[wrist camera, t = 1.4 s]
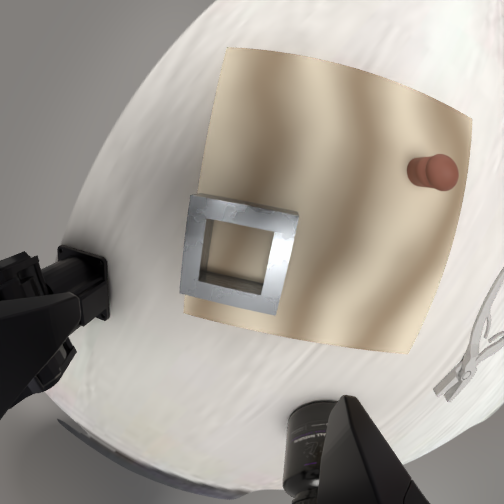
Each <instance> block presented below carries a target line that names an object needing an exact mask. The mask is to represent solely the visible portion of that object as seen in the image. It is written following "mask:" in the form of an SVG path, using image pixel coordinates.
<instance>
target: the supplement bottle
mask: <svg viewBox="0 0 504 504" xmlns="http://www.w3.org/2000/svg"><path fill="white" fill-rule="evenodd" d="M336 404H337V403H332V402H318V403H313V404H309V405H306V406H304V407H301V408H300V409H298V410H297V411H295V412H294V413H293V414H292V415H291V417H290V419H289V421H288V427H287V439H286V451H285V462H284V473H283V488H284V490H285V491H286V493H287V494H288V495H290V496H291V497H293V498H295V499H293V500H292V504H317V496H318V487H319V477H320V466H321V458H322V452H323V447H324V442H325V437H326V432H327V426H328V420H329V416H330V413H331V411H332V409H333V408H334V407H335V405H336Z"/></svg>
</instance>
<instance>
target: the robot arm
mask: <svg viewBox="0 0 504 504" xmlns="http://www.w3.org/2000/svg"><path fill="white" fill-rule="evenodd" d="M101 262H102V264H101ZM108 306H109V304H108V284H107V262H106V260H105V258H103V257H100V256H97V255H94V254H90V253H87V252H84V251H80V250H77V249H74V248H71V247H68V246H64V245H61V246H59V247H58V262H56V263H54V264H52V265H50V266H48V267H46V268H44V269H41V268H40V265H39V259H38V256H34V257H32V258H31V257H30V256H29V255H28V254H27V253H26V252H25V251H24V252H22V253H19V254H16V255H14V256H11V257H9V258H6V259H4V260H1V261H0V420H1V418H2V417H3V415H4V414H5V413H6V412H7V410H8V409H10V408H12V407H13V406H15V405H16V404H17V403H19V402H20V401H22V400H23V399H25V398H26V397H28V396H30V395H32V394H35V393H41V392H44V391H46V390H48V389H50V388H51V387H53V386H54V385H55V384H56V383H57V382H58V381H59V380H60V378H61V377H62V375H63V373H64V372H65V370H66V368H67V367H68V365H69V364H70V362H71V360H72V359H73V357H74V355H75V354H76V352H77V351H76V349H75V347H74V346H73V345H72V343H71V341H70V339H69V337H68V336H69V335H70V334H72V333H73V332H74V331H75V330H76V329H78V328H79V327H80V326H85V325H86V324H87V323H89V322H90V321H91V320H92V319H94V318H95V317H96V318H99V319H101V320H104V321H106V320H107V319H108V318H109V307H108ZM104 315H105V316H104ZM317 504H430V503H429V502H428V500H427V499H426V498H425V496H424V495H423V494H422V492H421V491H420V489H419V488H418V487H417V485H416V484H415V482H414V481H413V480H411V476H410V475H409V474H408V472H407V471H406V469H405V468H404V466H403V465H402V463H401V462H400V460H399V459H398V457H397V456H396V454H395V453H394V451H393V450H392V449H391V447H390V446H389V444H388V443H387V441H386V440H385V438H384V437H383V435H382V434H381V432H380V431H379V430H378V428H377V427H376V425H375V424H374V422H373V421H372V419H371V418H370V416H369V415H368V413H367V412H366V411H365V409H364V408H363V406H362V405H361V403H360V402H359V400H358V399H357V398H356V397H354V396H348V395H343V396H342V397H341V398H340V399H339V401H338V402H337V404H336V405H335V407H334V408H333V409H332V411H331V413H330V416H329V420H328V426H327V432H326V437H325V442H324V447H323V452H322V458H321V466H320V477H319V487H318V496H317Z"/></svg>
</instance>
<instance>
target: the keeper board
mask: <svg viewBox="0 0 504 504" xmlns="http://www.w3.org/2000/svg"><path fill="white" fill-rule="evenodd" d="M471 134H472V119H471V118H470V117H468V116H466V115H464V114H463V113H461V112H459V111H457V110H455V109H454V108H452V107H450V106H448V105H446V104H444V103H442V102H440V101H438V100H436V99H434V98H432V97H430V96H428V95H425V94H423V93H421V92H419V91H417V90H414V89H412V88H409V87H407V86H405V85H402V84H400V83H397V82H394V81H392V80H389V79H386V78H383V77H381V76H378V75H375V74H372V73H369V72H366V71H362V70H359V69H356V68H352V67H349V66H345V65H341V64H337V63H333V62H329V61H325V60H321V59H316V58H311V57H306V56H301V55H295V54H289V53H282V52H275V51H267V50H258V49H247V48H232V47H227V49H226V53H225V56H224V60H223V64H222V69H221V73H220V77H219V81H218V85H217V90H216V94H215V99H214V103H213V108H212V113H211V118H210V123H209V128H208V133H207V138H206V143H205V149H204V154H203V160H202V166H201V172H200V178H199V184H198V190H197V194H198V193H203V194H209V195H215V196H221V197H226V198H232V199H237V200H242V201H248V202H253V203H258V204H263V205H268V206H273V207H278V208H283V209H287V210H292V211H297V212H298V214H299V220H298V224H297V229H296V233H295V238H294V242H293V247H292V251H291V255H290V260H289V264H288V268H287V272H286V276H285V281H284V285H283V289H282V293H281V297H280V301H279V305H278V309H277V313H276V316H274V315H270V314H265V313H260V312H256V311H251V310H247V309H242V308H238V307H233V306H229V305H225V304H221V303H217V302H212V301H208V300H204V299H200V298H196V297H192V296H189V295H185V300H184V313H185V314H188V315H192V316H196V317H200V318H203V319H207V320H211V321H215V322H219V323H223V324H228V325H232V326H236V327H240V328H245V329H249V330H254V331H258V332H263V333H268V334H273V335H278V336H283V337H288V338H293V339H299V340H304V341H310V342H316V343H322V344H328V345H335V346H341V347H348V348H356V349H363V350H371V351H380V352H389V353H399V354H408V353H409V351H410V349H411V347H412V346H413V344H414V342H415V339H416V337H417V335H418V333H419V331H420V329H421V327H422V325H423V322H424V320H425V318H426V316H427V313H428V311H429V309H430V306H431V304H432V301H433V299H434V296H435V294H436V291H437V289H438V286H439V283H440V280H441V278H442V275H443V272H444V269H445V266H446V263H447V260H448V256H449V253H450V250H451V247H452V243H453V239H454V236H455V232H456V228H457V224H458V220H459V216H460V211H461V207H462V202H463V197H464V191H465V185H466V179H467V173H468V165H469V157H470V147H471ZM273 237H274V232H272V231H268V230H263V229H258V228H253V227H248V226H243V225H238V224H233V223H228V222H223V221H218V220H214V223H213V230H212V237H211V244H210V251H209V258H208V265H207V271H210V272H214V273H219V274H223V275H228V276H232V277H237V278H241V279H246V280H250V281H255V282H259V283H264V280H265V275H266V270H267V265H268V261H269V256H270V251H271V247H272V242H273Z"/></svg>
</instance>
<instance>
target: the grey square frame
mask: <svg viewBox="0 0 504 504" xmlns="http://www.w3.org/2000/svg"><path fill="white" fill-rule="evenodd" d="M214 220H218V221H223V222H228V223H233V224H238V225H243V226H248V227H253V228H258V229H263V230H268V231H272V232H274V237H273V242H272V247H271V251H270V256H269V261H268V265H267V270H266V275H265V280H264V283H259V282H255V281H250V280H246V279H241V278H237V277H232V276H228V275H223V274H219V273H214V272H210V271H207V265H208V258H209V251H210V244H211V237H212V230H213V223H214ZM298 220H299V214H298V212H297V211H292V210H287V209H283V208H278V207H273V206H268V205H263V204H258V203H253V202H248V201H242V200H237V199H232V198H226V197H221V196H215V195H209V194H203V193H198V194H194V195H190V202H189V209H188V217H187V224H186V233H185V241H184V250H183V260H182V270H181V281H180V293H181V294H185V295H189V296H192V297H196V298H200V299H204V300H208V301H212V302H217V303H221V304H225V305H229V306H233V307H238V308H242V309H247V310H251V311H256V312H260V313H265V314H270V315H274V316H276V313H277V309H278V305H279V301H280V297H281V293H282V289H283V285H284V281H285V276H286V272H287V268H288V264H289V260H290V255H291V251H292V247H293V242H294V238H295V233H296V229H297V224H298Z"/></svg>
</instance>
